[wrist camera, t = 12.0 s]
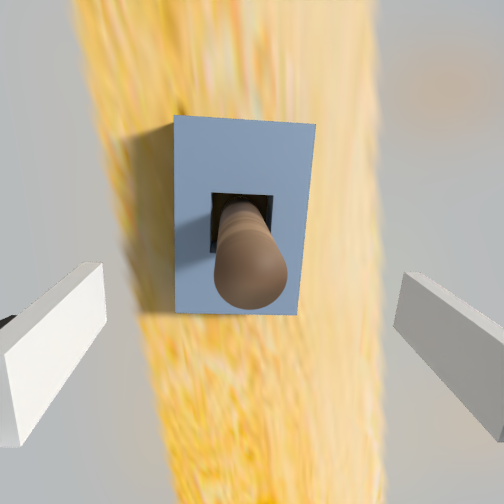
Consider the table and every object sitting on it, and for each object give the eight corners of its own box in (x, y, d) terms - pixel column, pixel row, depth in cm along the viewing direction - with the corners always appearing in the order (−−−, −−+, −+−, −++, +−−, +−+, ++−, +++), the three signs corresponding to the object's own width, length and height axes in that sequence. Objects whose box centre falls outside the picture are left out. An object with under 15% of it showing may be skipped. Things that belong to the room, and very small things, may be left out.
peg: (221, 195, 35) (214, 238, 18) (260, 197, 35) (290, 241, 18) (220, 233, 36) (212, 309, 19) (257, 235, 37) (284, 310, 19)
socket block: (180, 119, 33) (173, 114, 29) (304, 127, 34) (315, 124, 30) (181, 294, 38) (175, 312, 34) (289, 297, 39) (296, 315, 34)
